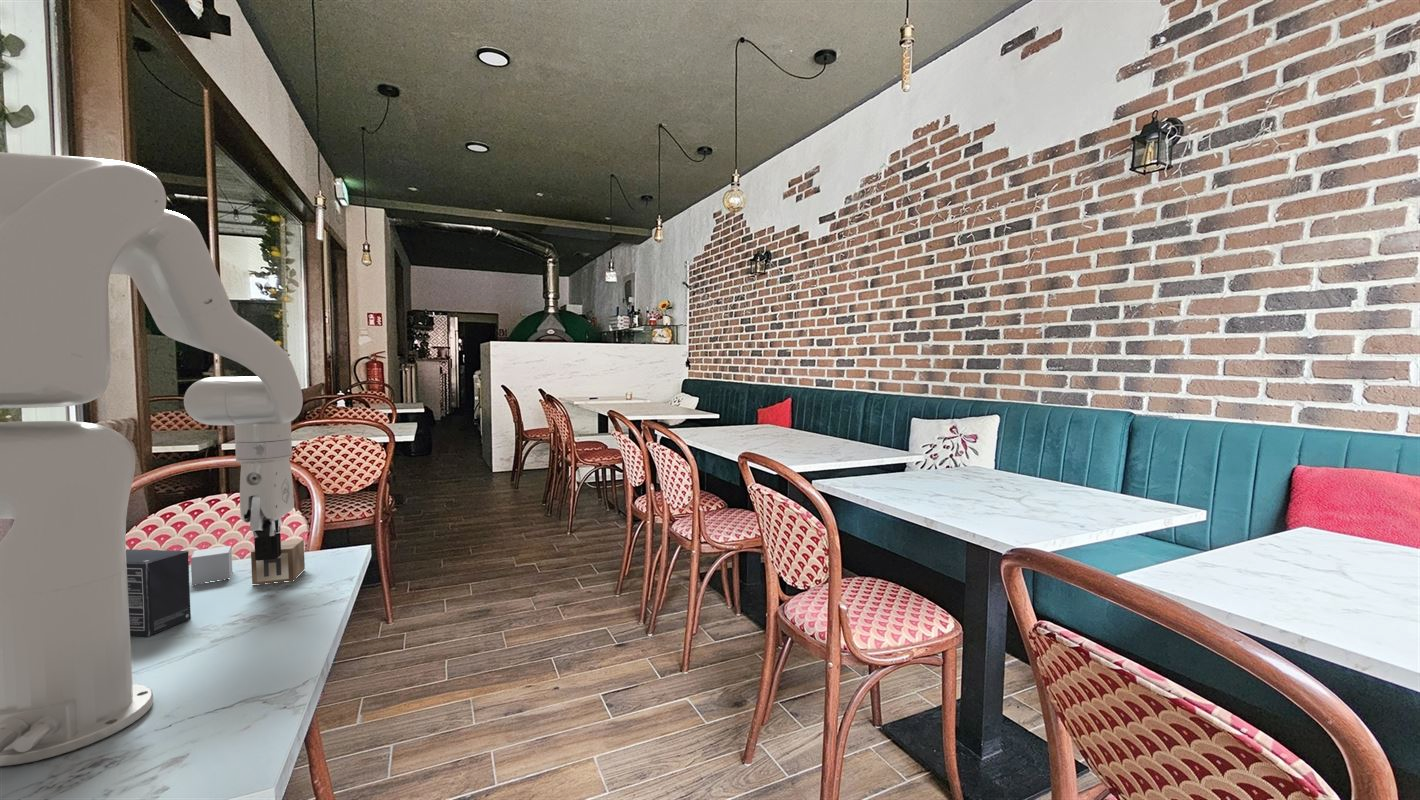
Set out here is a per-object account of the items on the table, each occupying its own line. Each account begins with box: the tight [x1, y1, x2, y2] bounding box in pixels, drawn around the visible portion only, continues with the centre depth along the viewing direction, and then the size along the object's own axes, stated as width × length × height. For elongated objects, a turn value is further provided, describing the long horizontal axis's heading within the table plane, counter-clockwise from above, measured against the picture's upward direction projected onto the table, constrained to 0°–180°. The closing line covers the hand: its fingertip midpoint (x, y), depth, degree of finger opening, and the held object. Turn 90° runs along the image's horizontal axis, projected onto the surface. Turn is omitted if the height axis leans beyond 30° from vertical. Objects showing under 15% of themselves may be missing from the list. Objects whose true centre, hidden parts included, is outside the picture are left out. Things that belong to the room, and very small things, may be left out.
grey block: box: [190, 545, 233, 586], centre depth 103 cm, size 5×5×5 cm
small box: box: [126, 548, 192, 638], centre depth 83 cm, size 11×6×10 cm, turn 84°
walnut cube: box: [250, 538, 306, 585], centre depth 103 cm, size 6×6×6 cm
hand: (268, 558), depth 98 cm, fingers closed
